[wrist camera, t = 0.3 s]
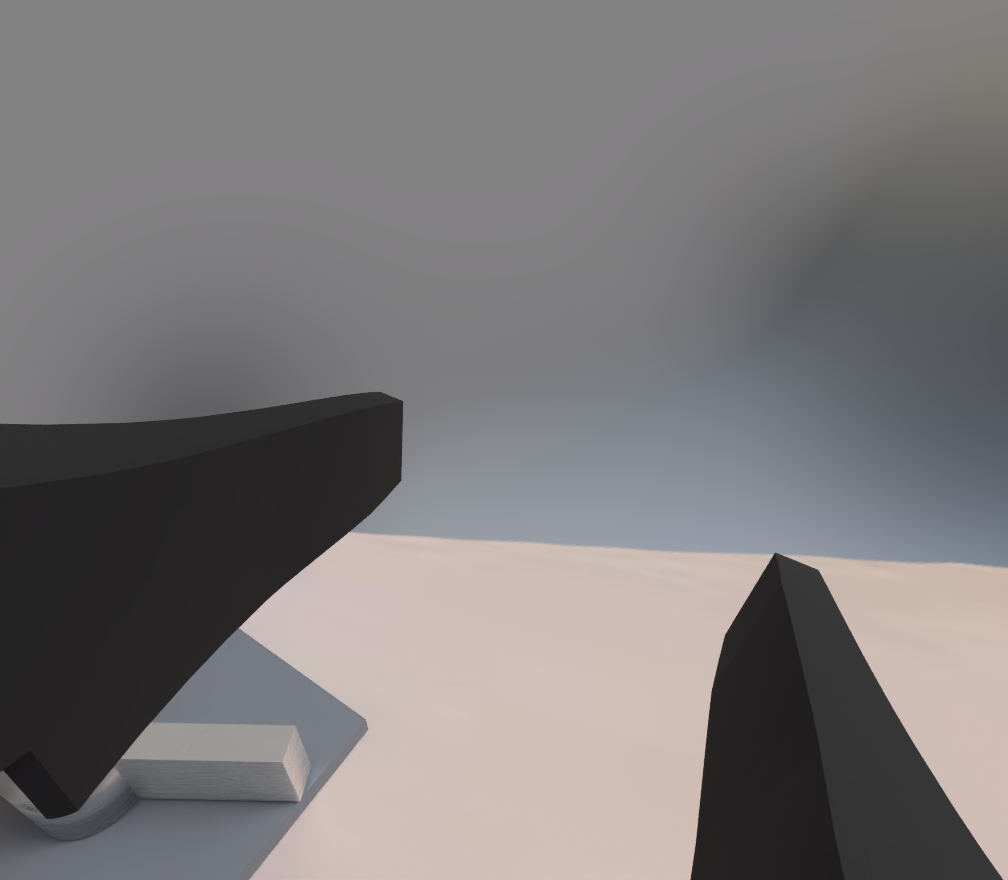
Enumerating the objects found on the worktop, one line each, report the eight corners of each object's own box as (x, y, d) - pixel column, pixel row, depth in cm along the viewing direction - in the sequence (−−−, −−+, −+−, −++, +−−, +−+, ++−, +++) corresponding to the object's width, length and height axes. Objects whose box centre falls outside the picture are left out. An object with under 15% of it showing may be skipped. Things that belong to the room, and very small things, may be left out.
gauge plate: (-310, 1583, 10) (-369, 1612, 9) (-388, 996, 17) (-427, 988, 16) (368, 729, 25) (364, 716, 24) (184, 596, 31) (177, 582, 31)
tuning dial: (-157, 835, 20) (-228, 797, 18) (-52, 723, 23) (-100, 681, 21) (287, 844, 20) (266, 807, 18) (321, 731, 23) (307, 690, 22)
